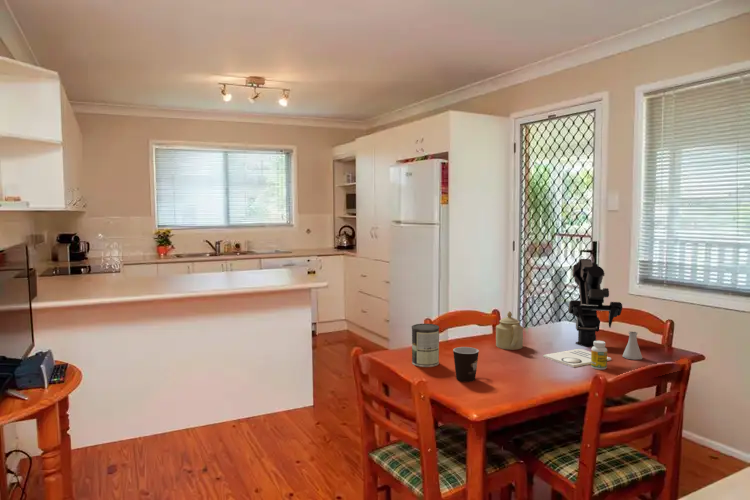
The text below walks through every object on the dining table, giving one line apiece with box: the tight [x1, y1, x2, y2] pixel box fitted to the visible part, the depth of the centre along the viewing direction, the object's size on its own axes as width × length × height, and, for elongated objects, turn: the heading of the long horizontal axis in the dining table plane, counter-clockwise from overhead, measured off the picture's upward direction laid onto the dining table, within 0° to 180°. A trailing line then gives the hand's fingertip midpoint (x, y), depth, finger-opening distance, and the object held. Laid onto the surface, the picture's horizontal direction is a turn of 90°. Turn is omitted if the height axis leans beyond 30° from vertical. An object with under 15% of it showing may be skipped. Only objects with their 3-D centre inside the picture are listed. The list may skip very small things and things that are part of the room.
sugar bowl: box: [495, 311, 524, 351], centre depth 218 cm, size 15×11×15 cm
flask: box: [622, 331, 643, 361], centre depth 202 cm, size 7×7×10 cm
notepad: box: [542, 348, 612, 368], centre depth 202 cm, size 15×20×1 cm
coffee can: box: [411, 323, 440, 368], centre depth 196 cm, size 10×10×14 cm
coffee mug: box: [452, 346, 480, 383], centre depth 179 cm, size 12×9×10 cm
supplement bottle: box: [590, 340, 608, 371], centre depth 190 cm, size 5×5×10 cm
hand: (596, 326), depth 197 cm, fingers open, 9 cm apart
